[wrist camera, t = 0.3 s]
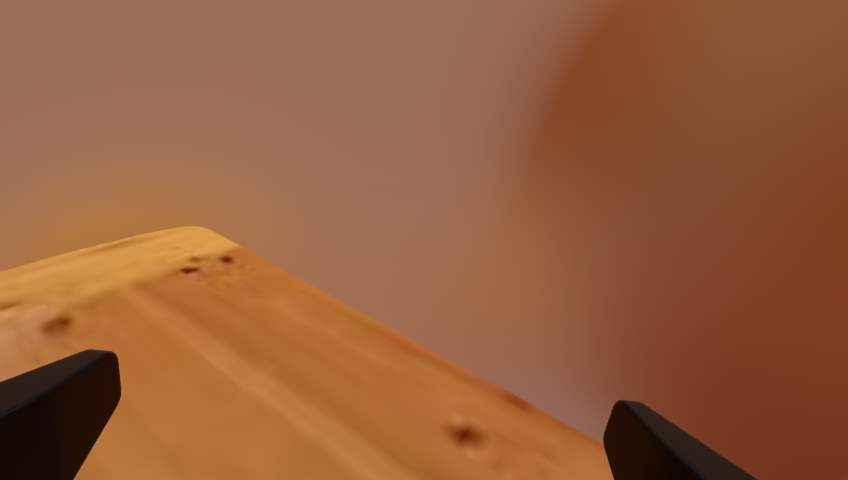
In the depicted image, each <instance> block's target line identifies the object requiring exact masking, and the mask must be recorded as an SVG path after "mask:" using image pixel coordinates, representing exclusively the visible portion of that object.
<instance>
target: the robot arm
mask: <svg viewBox="0 0 848 480" xmlns="http://www.w3.org/2000/svg"><path fill="white" fill-rule="evenodd" d="M120 397H121V383H120V373H119V363H118V357H117V355H116V354H115V353H114V352H112V351H104V350H93V349H90V350H85V351H82V352H79V353H77V354H74V355H71V356H69V357H66V358H63V359H61V360H58V361H55V362H53V363H50V364H47V365H45V366H42V367H39V368H37V369H34V370H31V371H29V372H26V373H23V374H21V375H18V376H15V377H13V378H10V379H7V380H5V381H2V382H0V480H73V479H74V478H75V476H76V474H77V473H78V471H79V469H80V468H81V466H82V464H83V463H84V461H85V459H86V458H87V456H88V454H89V453H90V451H91V449H92V447H93V446H94V444H95V442H96V441H97V439H98V437H99V436H100V434H101V432H102V431H103V429H104V427H105V426H106V424H107V422H108V421H109V419H110V417H111V416H112V414H113V412H114V411H115V409H116V407H117V405H118V403H119V400H120ZM603 440H604V448H605V451H606V455H607V458H608V461H609V465H610V468H611V471H612V474H613V478H614V480H757V479H756V478H755V477H753V476H752V475H750V474H748V473H747V472H745V471H744V470H742V469H741V468H739V467H738V466H736V465H735V464H733V463H732V462H730V461H728V460H727V459H726V458H724V457H723V456H721V455H720V454H718V453H717V452H715V451H714V450H712V449H711V448H709V447H707V446H706V445H705V444H703V443H702V442H700V441H699V440H697V439H695V438H694V437H693V436H691V435H690V434H688V433H686V432H685V431H684V430H682V429H680V428H679V427H678V426H676V425H675V424H673V423H671V422H670V421H668V420H667V419H666V418H664V417H663V416H661V415H659V414H658V413H656V412H655V411H653V410H652V409H650V408H649V407H647V406H646V405H644V404H643V403H641V402H638V401H630V400H619V401H617V402H616V403H615V404H614V406H613V409H612V412H611V415H610V418H609V421H608V423H607V426H606V429H605V432H604V438H603Z"/></svg>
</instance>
